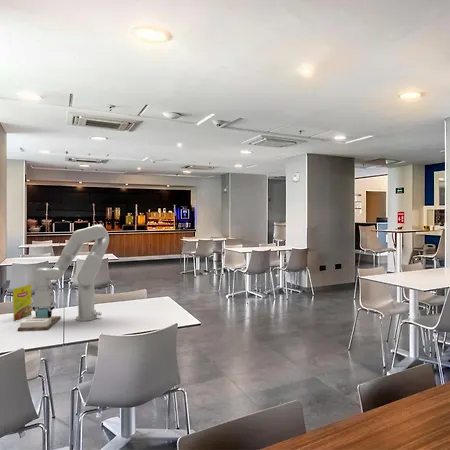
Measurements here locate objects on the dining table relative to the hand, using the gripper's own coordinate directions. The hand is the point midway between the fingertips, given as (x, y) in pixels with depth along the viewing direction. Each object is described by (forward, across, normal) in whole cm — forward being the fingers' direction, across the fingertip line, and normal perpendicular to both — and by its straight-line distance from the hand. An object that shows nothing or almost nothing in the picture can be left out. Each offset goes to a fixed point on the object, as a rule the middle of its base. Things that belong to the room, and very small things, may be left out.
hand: (43, 317), depth 227 cm
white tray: (+1, 0, +12) cm, 12 cm away
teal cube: (+1, 0, 0) cm, 1 cm away
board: (+3, 0, +5) cm, 6 cm away
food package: (+3, +16, -11) cm, 19 cm away
